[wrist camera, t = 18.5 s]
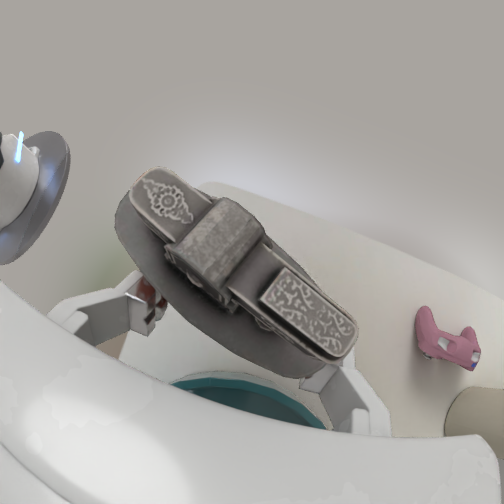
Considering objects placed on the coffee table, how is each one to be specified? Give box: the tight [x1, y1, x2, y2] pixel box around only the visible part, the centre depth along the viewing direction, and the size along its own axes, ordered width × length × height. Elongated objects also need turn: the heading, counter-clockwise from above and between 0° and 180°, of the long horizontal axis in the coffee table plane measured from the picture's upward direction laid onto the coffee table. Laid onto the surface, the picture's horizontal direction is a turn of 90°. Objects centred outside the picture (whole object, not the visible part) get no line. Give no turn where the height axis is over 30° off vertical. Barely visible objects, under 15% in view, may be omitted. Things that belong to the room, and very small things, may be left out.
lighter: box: [115, 166, 359, 379], centre depth 10 cm, size 8×3×10 cm, turn 51°
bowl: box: [168, 371, 326, 430], centre depth 20 cm, size 21×21×5 cm
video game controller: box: [415, 306, 481, 371], centre depth 23 cm, size 10×5×7 cm, turn 66°
